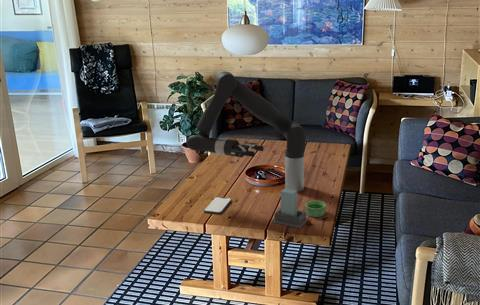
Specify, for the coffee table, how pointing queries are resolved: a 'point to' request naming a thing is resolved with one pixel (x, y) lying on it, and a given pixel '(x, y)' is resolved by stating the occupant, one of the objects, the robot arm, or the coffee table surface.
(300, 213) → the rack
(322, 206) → the ramekin
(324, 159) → the coffee table surface
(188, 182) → the coffee table surface
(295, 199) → the tall teal prism
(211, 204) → the phone case
